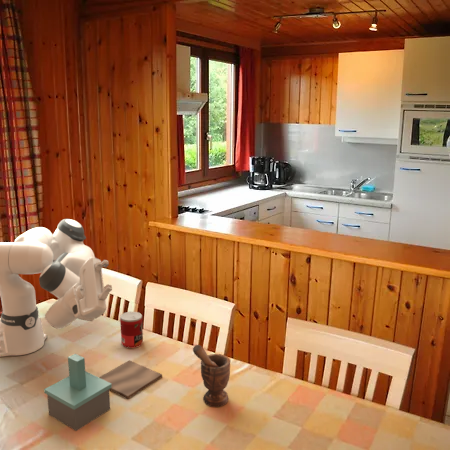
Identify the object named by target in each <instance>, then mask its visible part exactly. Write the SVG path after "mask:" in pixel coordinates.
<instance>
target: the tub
mask: <svg viewBox="0 0 450 450" xmlns="http://www.w3.org/2000/svg"><path fill="white" fill-rule="evenodd" d="M46 395H47V394H46ZM47 406H48V407H47V408H48V415H49V416H50V417H52V418H53V419H55V420H57V421H58V422H61V423H62V424H64V425H65V426H66V427H69V428H70V429H73V430H74V431H76V432H77V431H79V430H81V428H83V427H85V426H87V425H88V424H89V423H91V422H92V421H93V420H95V419H97V418H99V417H101V416H102V415H103V414H104V413H107V412H109V410H111V397H110V390H109V389H108V390H106V391H105V392H103V393H101V394H100V395H98V396H96V397H95V398H93V399H91V400H90V401H88V402H86V403H85V404H83V405H81V406H80V407H78V408H76V409H75V410H74V409H72V408H70V407H68V406H67V405H65V404H63V403H61V402H60V401H58V400H56V399H54V398H52V397H51V396H49V395H47Z"/></svg>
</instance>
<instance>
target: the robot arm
mask: <svg viewBox="0 0 450 450" xmlns="http://www.w3.org/2000/svg"><path fill="white" fill-rule="evenodd" d="M86 239H87V236H86V235H85V230H84V227H83V225H82V224H81V223H80V222H78V221H77V220H74V219H70V218H64V219H62V220H60V221H59V223H58V224H57V228H56V229H55V231H54V232H53V233H52V232H51V230H50V229H48V228H46V227H43V226H37V227H33V228H31V229H28V230H27V231H25V232H23V233H22V234H19V236H17V237H16V239H14V242H13V241H12V242H11V241H10V242H9V241H8V242H6V241H5V242H2V241H1V242H0V300H1V306H2V308H1V310H0V315H1V316H0V357H7V356H23V355H28V354H31V353H34V352H37V351H38V350H40V349H41V348H43V346H44V345H45V340H47V337H48V335H47V333H44V328H43V322H42V321H43V320H42V318H40V316H39V314H40V313H39V309H38V308H39V307H38V306H37V300H36V299H37V298H36V290H35V287H34V286H33V284H31V283H30V282H28V281H27V280H25V279H24V278H22V277H21V276H20V275H34V274H40V275H39V278H38V281H39V282H38V283H39V285H40V288H41V289H44V291H47V292H49V293H50V294H51V295H53V296H54V297H56V298H57V300H56V301H54V303H53V304H52V305H50V307H49V308H48V309H47V310H46V312H45V315H44V318H45V320H46V322H47V323H48V324H49V325H50V326H52V327H53V328H55V329H58V330H60V329H64V328H65V327H67V326H69V325H70V324H72V323H73V322H75V321H76V320H81V321H86V322H93V321H95V319H97V318H99V317H101V316H102V315H104V314H105V312H106V310H107V303H106V301H107V298H108V296H109V294H110V292H112V291H113V287H112V285H111V284H106V285H104V280H103V279H104V278H103V270H102V269H103V267H104V268H108V266H109V260H107V259H103V260H101V259H99V258H97V257H96V256H95V252H94V250H92V248H91V247H90V246H88V245H85V244H84V240H86Z"/></svg>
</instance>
